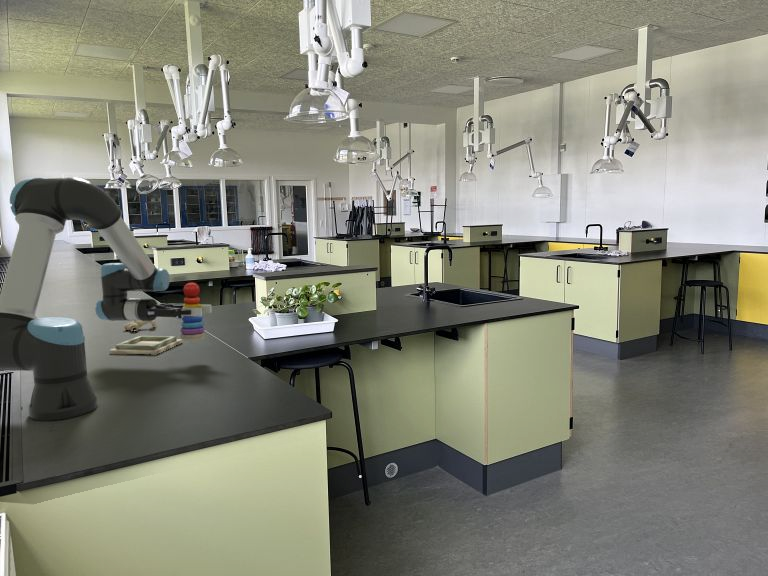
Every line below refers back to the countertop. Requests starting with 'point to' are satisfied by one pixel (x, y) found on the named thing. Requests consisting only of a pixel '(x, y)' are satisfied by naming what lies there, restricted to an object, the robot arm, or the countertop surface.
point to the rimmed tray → (146, 345)
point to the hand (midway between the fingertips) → (206, 310)
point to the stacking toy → (192, 324)
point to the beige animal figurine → (138, 325)
